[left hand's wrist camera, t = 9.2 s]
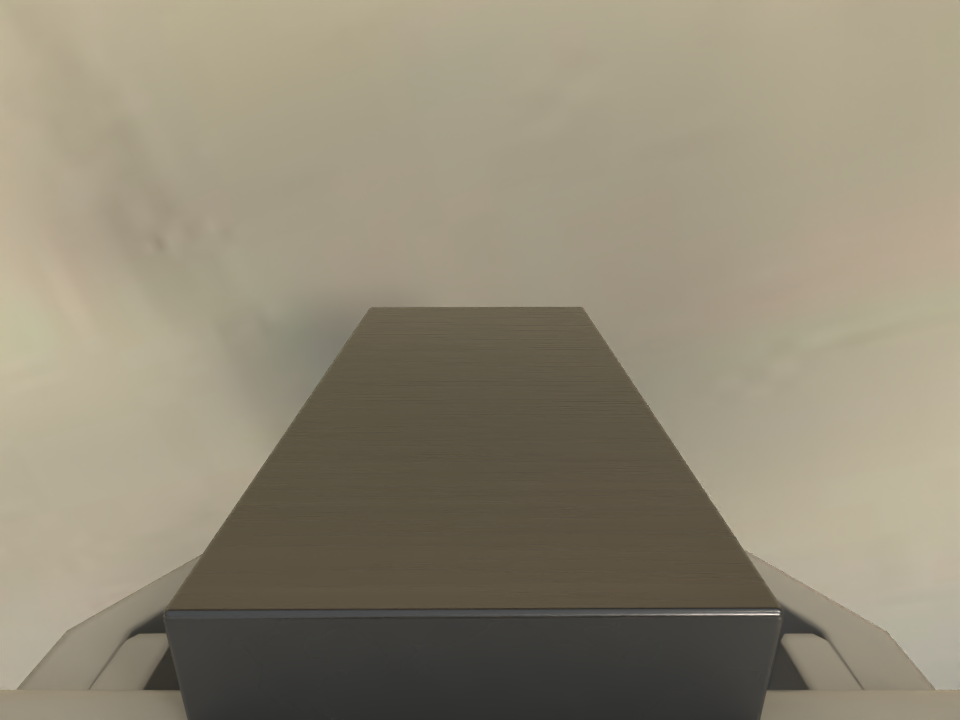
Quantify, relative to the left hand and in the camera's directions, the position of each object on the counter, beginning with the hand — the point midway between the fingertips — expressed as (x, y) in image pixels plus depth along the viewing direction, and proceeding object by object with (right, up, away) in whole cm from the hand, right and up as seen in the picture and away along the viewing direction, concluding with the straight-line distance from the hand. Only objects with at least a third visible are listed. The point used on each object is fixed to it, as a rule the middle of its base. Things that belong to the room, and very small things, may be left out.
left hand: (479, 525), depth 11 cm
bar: (0, -8, +7) cm, 11 cm away
